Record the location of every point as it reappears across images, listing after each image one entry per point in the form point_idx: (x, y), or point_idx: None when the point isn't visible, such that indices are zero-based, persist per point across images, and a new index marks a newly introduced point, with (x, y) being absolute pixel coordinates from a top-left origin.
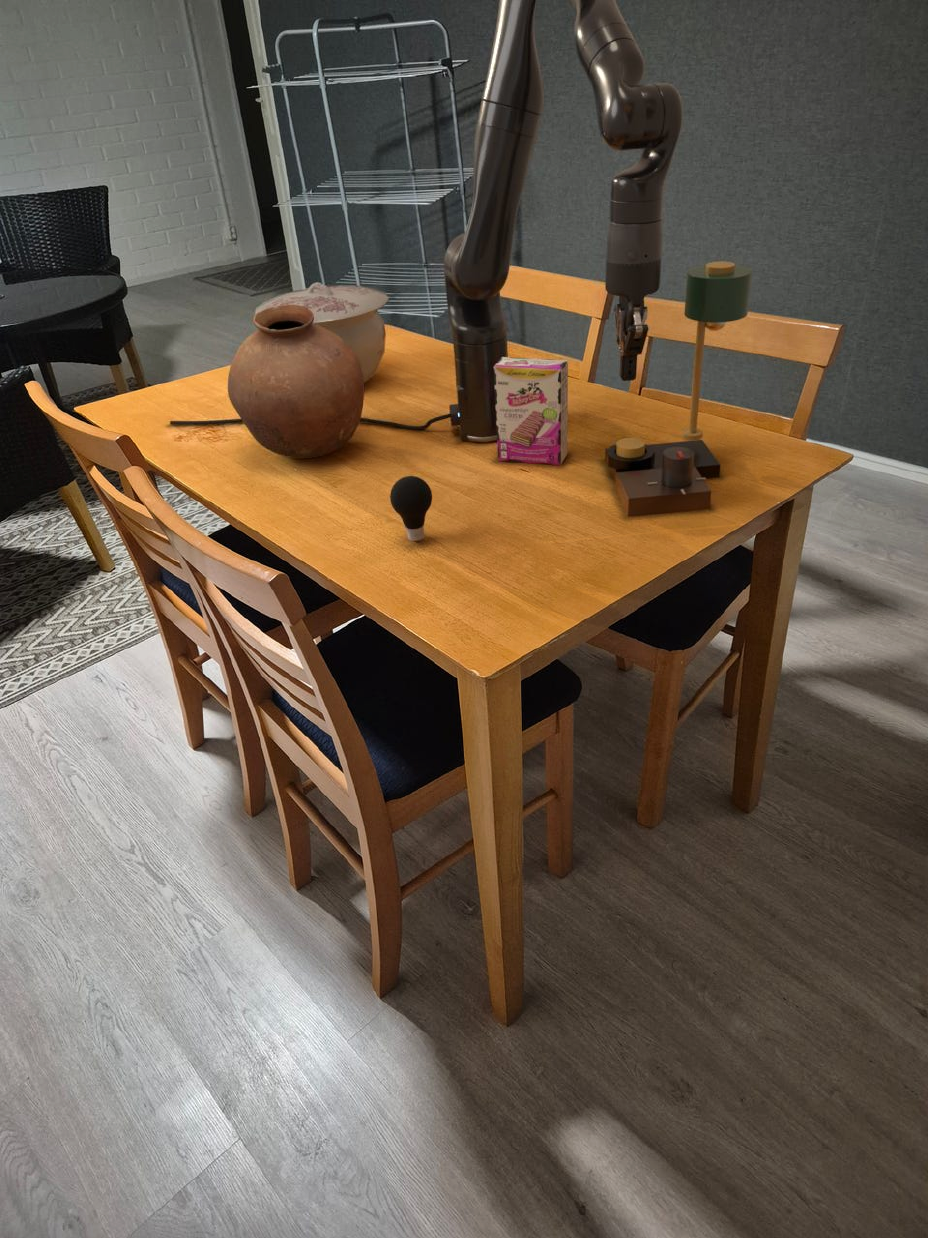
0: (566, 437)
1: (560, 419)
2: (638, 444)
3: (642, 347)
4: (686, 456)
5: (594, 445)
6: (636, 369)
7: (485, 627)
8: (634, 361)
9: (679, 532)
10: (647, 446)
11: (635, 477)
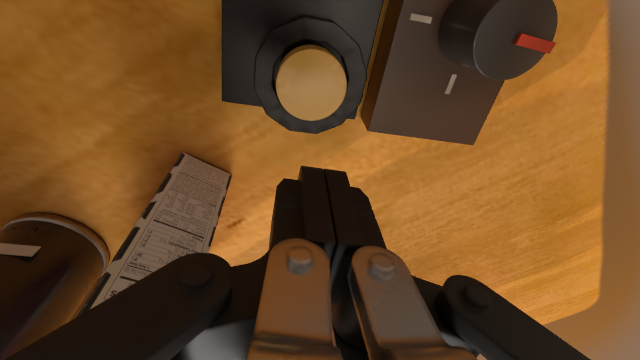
0: (182, 176)
1: (213, 233)
2: (326, 72)
3: (553, 340)
4: (545, 27)
5: (137, 85)
6: (351, 192)
7: (548, 300)
8: (382, 244)
9: (549, 72)
10: (298, 28)
11: (406, 104)
